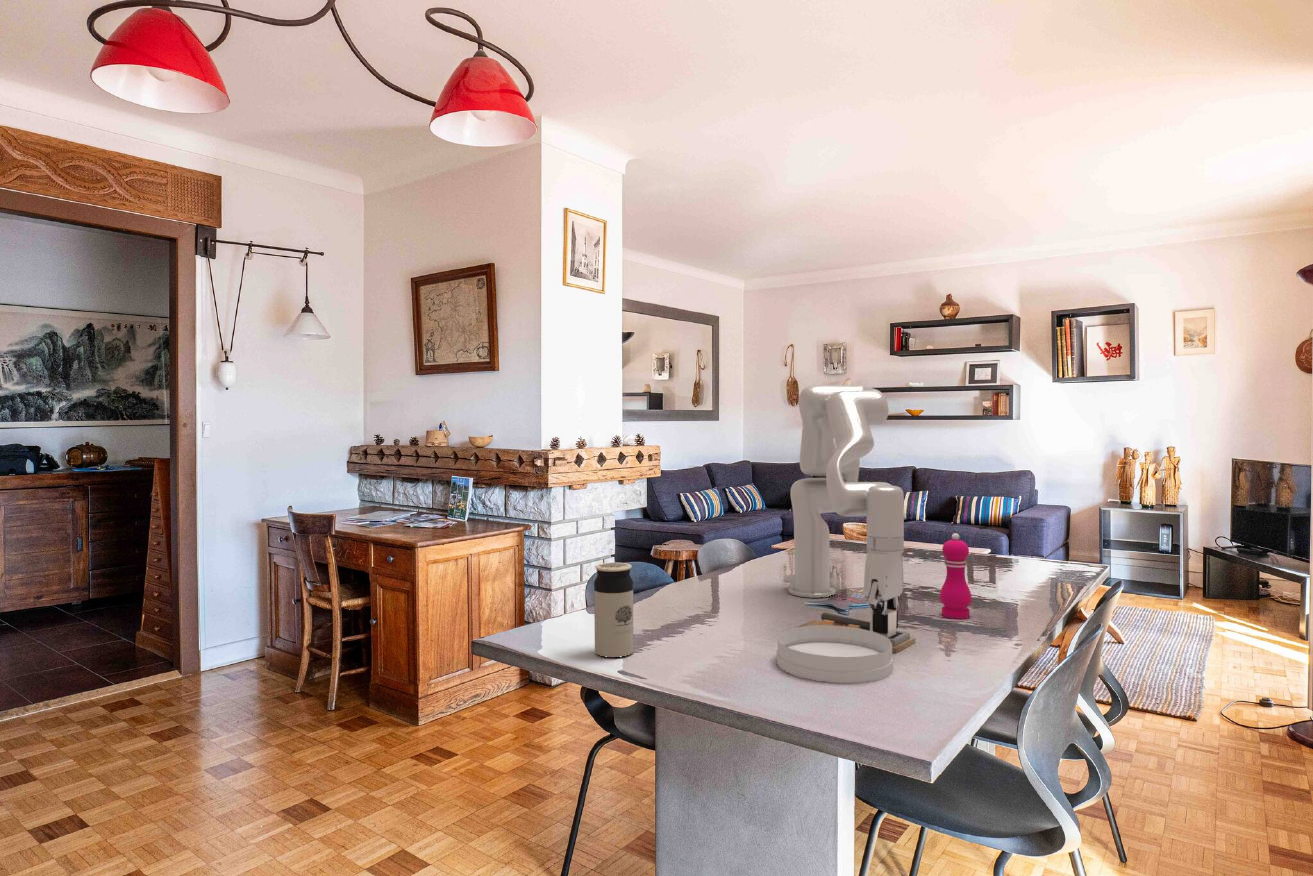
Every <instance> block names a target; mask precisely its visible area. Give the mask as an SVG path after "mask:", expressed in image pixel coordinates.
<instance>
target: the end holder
mask: <svg viewBox="0 0 1313 876" xmlns="http://www.w3.org/2000/svg"><path fill="white" fill-rule="evenodd" d="M891 637H895V638H893V639H891V638H888V639H889V640H890V641H891V643H892V646H897V645H899V644H901V643H903V642H905V641H906V640H908V639H910V637H911V633H910V632H906V631H901V630H896V634H895V635H893V636H891Z"/></svg>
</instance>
